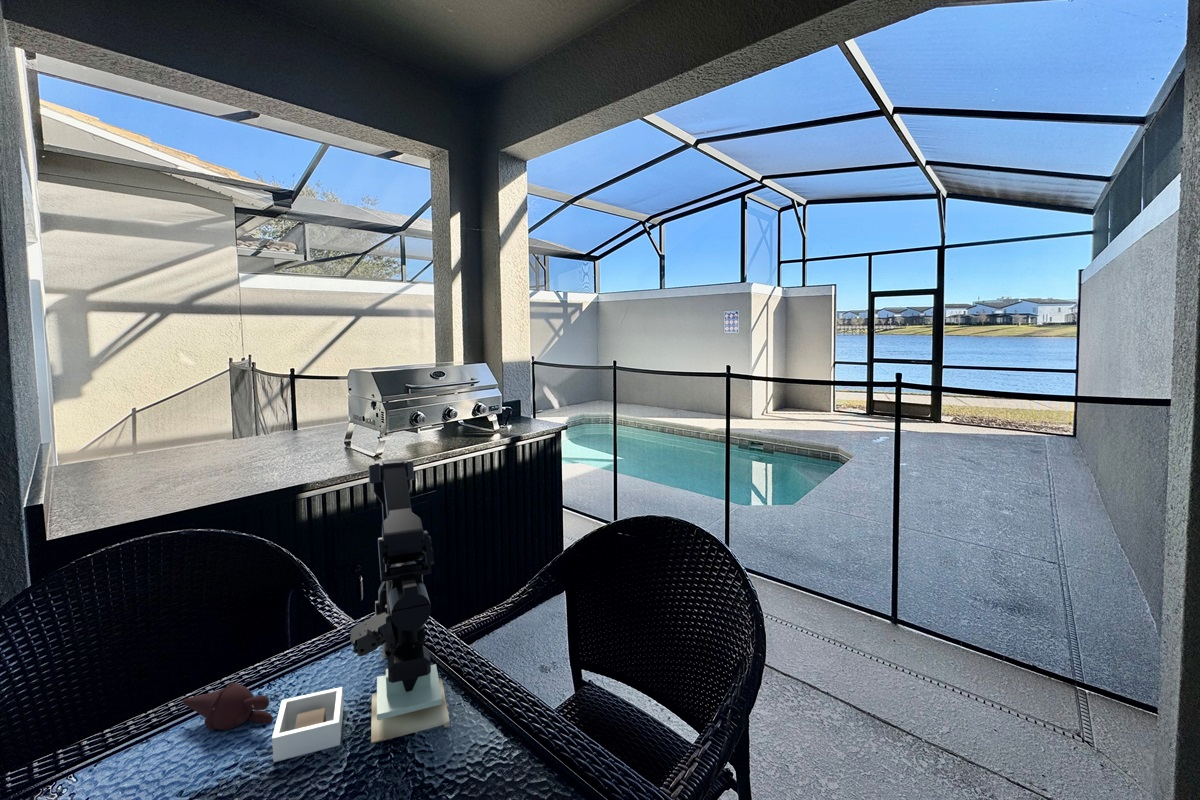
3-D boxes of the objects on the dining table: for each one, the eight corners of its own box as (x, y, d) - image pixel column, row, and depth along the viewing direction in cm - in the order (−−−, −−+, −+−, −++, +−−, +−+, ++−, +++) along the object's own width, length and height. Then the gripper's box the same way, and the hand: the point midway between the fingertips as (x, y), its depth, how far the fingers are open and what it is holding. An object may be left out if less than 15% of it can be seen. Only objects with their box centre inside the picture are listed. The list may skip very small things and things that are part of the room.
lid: (377, 686, 94) (376, 658, 93) (436, 673, 97) (435, 646, 97) (377, 724, 84) (376, 694, 84) (442, 708, 88) (441, 679, 88)
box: (283, 725, 88) (281, 700, 87) (343, 710, 91) (342, 686, 91) (273, 765, 80) (271, 738, 79) (340, 748, 83) (338, 722, 82)
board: (372, 698, 94) (371, 694, 94) (441, 682, 99) (441, 678, 99) (371, 746, 83) (371, 742, 83) (449, 726, 88) (449, 721, 88)
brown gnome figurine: (159, 705, 83) (251, 718, 82) (196, 666, 90) (281, 677, 89) (169, 736, 86) (258, 748, 85) (204, 695, 92) (287, 706, 92)
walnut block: (298, 727, 86) (297, 713, 86) (325, 721, 88) (325, 707, 88) (295, 745, 83) (294, 730, 82) (323, 738, 84) (322, 723, 84)
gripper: (354, 583, 94) (358, 665, 96) (349, 639, 77) (354, 737, 79) (420, 573, 98) (423, 651, 100) (429, 624, 81) (432, 717, 83)
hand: (408, 685), depth 91 cm, fingers closed on lid, 2 cm apart
